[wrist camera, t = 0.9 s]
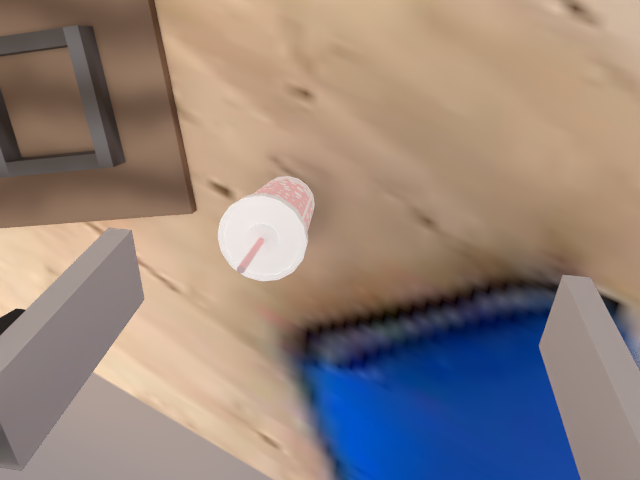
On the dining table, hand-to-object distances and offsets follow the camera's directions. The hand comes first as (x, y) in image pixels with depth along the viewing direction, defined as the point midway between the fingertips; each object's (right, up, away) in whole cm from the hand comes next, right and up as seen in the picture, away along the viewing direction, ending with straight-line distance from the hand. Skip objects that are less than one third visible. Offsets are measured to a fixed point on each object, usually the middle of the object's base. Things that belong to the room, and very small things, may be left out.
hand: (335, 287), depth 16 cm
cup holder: (-22, +13, +26) cm, 37 cm away
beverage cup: (-3, +5, +27) cm, 28 cm away
